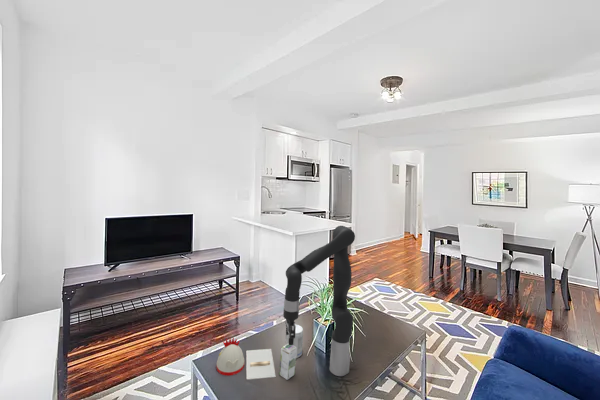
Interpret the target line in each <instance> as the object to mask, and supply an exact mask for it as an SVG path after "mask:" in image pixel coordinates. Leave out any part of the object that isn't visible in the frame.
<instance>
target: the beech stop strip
mask: <svg viewBox="0 0 600 400" xmlns="http://www.w3.org/2000/svg"><path fill="white" fill-rule="evenodd" d="M266 365H270V361H264V362H251V363H250V367H253V366H266Z"/></svg>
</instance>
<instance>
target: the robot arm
mask: <svg viewBox="0 0 600 400" xmlns="http://www.w3.org/2000/svg"><path fill="white" fill-rule="evenodd" d="M355 240H356V234H355V231H354V230H353V229H351V228H349V227H347V226H344V225H338V226H336V227H335V228H334V229H333V232H332V239H331V241H329V242H328V243H326V244H325V245H323V246H321V247H319V248H317V249H315V250H313V251H311V252H310V253H308V254H307V255H306V256H304V257H303V258H302V259H300V260H298V261H296V262H294V263H293V264H291V265H290V266H288V267H287V269H286V270H285V277H286V279H287V280H286V281H287V282H286V283H287V284H286V287H285V290H284V291H285V292H284V302H283V314H282V315H283V318H284V319H285V322H284V323H285V336H286V335H289V345H293V341H294V338H295V329H296V326H295V324H296V320H297V319H298V318H299V316H300V315H299V314H300V313H299V312H300V293H301V292H300V289H301V286H302V280H303V276H302V274H304V273H305V272H311V271H313V269H315V268H316V267H318V266H319V265H320V264H322V263H323V262H324V261H326V260H327V259H329V258H330V257H331V256H333V270H332V271H333V273H332V280H333V281H332V283H333V284H332V286H333V287H332V292H333V293H332V295H333V297H332V298H333V299H332V308H331V317H332V318H331V319H333V321H334V329H333V330H332V332H331V343H330V345H331V346H330V358H329V371H330V373H331V374H332V375H335V376H336V377H337V376H338V377H343V376H346V375H347V374H349V373H350V363H351V354H350V341H351V336H352V335H353V325H354V324H353V323H354V316H353V314H352V313H351V311H350V310H349V309H348V299H347V298H348V293H349V291H350V289H351V285H352V266H351V262H350V258H349V251H348V250H349V249H348V247H350V245H352V244H353V243H354V242H355ZM291 334H293V335H291Z"/></svg>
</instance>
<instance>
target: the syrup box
mask: <svg viewBox="0 0 600 400" xmlns="http://www.w3.org/2000/svg"><path fill="white" fill-rule="evenodd" d="M285 344H286V343H285ZM296 353H297V348H296V347H295V346H294V345H289V343H288V344H286V345H283V346H282V347H281V348H280V358H279V359H280V360H279V370H278V371H279V373H278V374H279V376H280V377H282V378H283V379H285V380H287V381H288V380H290V379H291V378H292V377H293V376H295V374H296V364H297V358H296Z"/></svg>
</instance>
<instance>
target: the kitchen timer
mask: <svg viewBox="0 0 600 400" xmlns="http://www.w3.org/2000/svg"><path fill="white" fill-rule="evenodd" d="M222 343H223V345H224V347H223V348H221V351H220V352H219V354H218V357H217V361H216V371H217V373H218V374H220V375H222V376H227V377H228V376H229V377H230V376H234V375H237V374H239V373H240V372H241V371H243V370H244V368H245V358H244V357H245V356H244V353H243V350H242V348H241V347H240V346H239V345H240V340H238V341H237V338H235V339H234V337H232V339H231V337H230V338H229V341H228V338H226V339H225V341H222Z"/></svg>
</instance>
